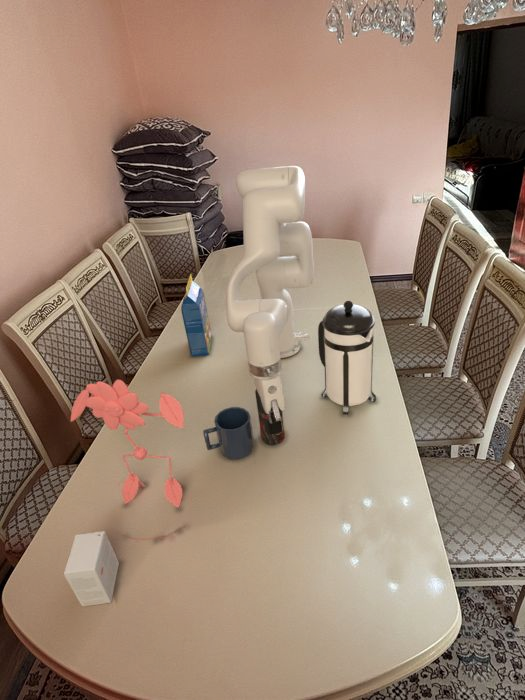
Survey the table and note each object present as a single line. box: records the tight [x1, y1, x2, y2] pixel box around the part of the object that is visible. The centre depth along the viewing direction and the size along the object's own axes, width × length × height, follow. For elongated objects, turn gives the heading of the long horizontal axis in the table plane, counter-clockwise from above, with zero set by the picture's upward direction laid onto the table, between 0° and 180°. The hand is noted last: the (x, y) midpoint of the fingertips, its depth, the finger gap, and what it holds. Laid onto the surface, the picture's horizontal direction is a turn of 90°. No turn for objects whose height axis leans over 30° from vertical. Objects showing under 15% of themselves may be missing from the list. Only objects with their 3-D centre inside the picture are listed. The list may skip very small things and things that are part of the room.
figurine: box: [70, 379, 186, 543], centre depth 90 cm, size 15×26×35 cm, turn 78°
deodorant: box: [254, 389, 286, 446], centre depth 111 cm, size 6×6×15 cm
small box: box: [63, 530, 120, 607], centre depth 83 cm, size 8×6×10 cm
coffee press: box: [317, 300, 377, 416], centre depth 118 cm, size 17×16×30 cm
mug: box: [202, 406, 255, 461], centre depth 111 cm, size 12×9×10 cm
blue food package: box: [180, 274, 213, 357], centre depth 151 cm, size 6×12×25 cm, turn 0°
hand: (271, 423), depth 113 cm, fingers closed on deodorant, 5 cm apart
